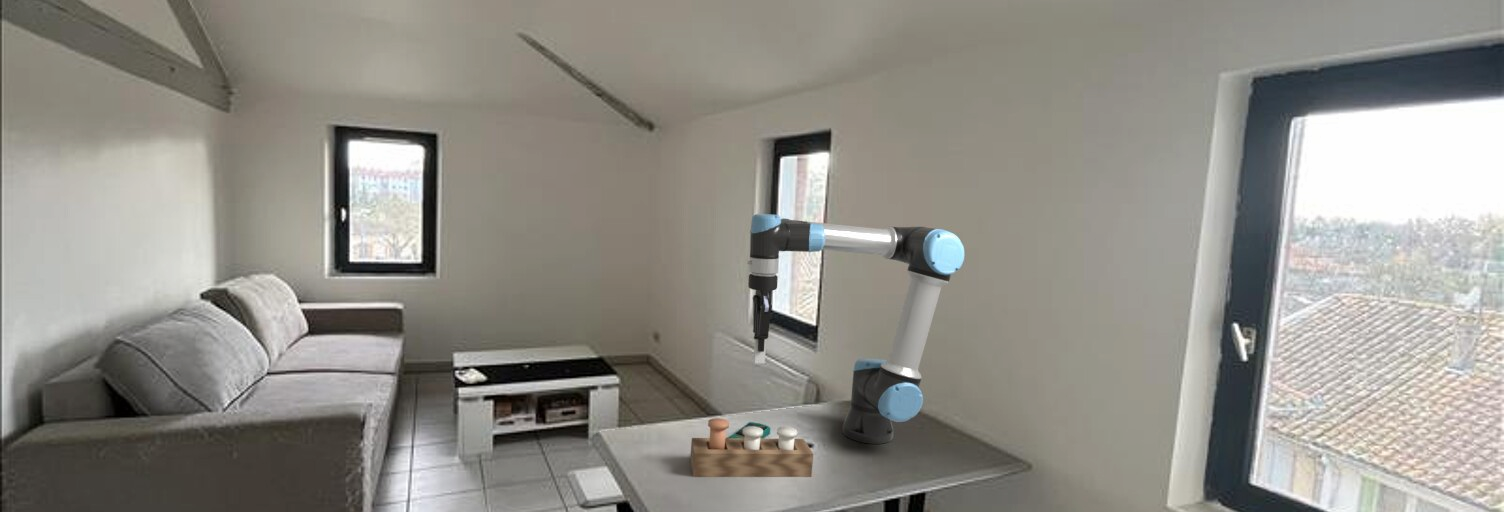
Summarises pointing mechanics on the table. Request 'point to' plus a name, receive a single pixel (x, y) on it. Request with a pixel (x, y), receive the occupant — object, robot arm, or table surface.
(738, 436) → the digital multimeter
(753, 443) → the plug mid
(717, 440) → the plug terracotta
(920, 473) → the table surface
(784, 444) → the plug near
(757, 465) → the board
